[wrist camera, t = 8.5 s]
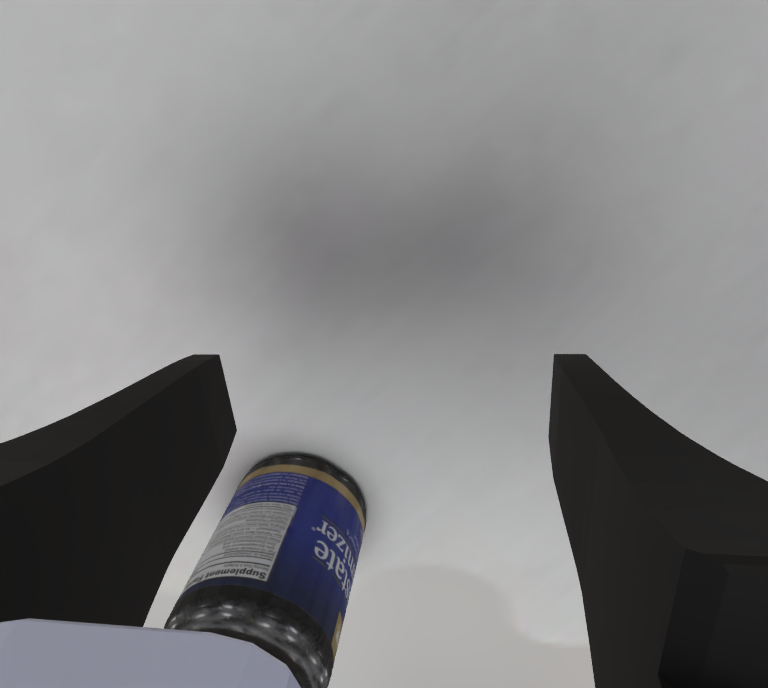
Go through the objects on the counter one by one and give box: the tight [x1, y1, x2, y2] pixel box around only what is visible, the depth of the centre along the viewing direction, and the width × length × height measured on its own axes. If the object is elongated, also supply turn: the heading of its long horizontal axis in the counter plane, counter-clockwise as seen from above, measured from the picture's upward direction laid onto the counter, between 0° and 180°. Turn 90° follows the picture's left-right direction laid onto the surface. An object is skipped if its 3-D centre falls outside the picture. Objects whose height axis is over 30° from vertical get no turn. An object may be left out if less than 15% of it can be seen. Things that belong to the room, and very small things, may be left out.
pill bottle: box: [164, 456, 366, 688], centre depth 22 cm, size 6×6×11 cm
